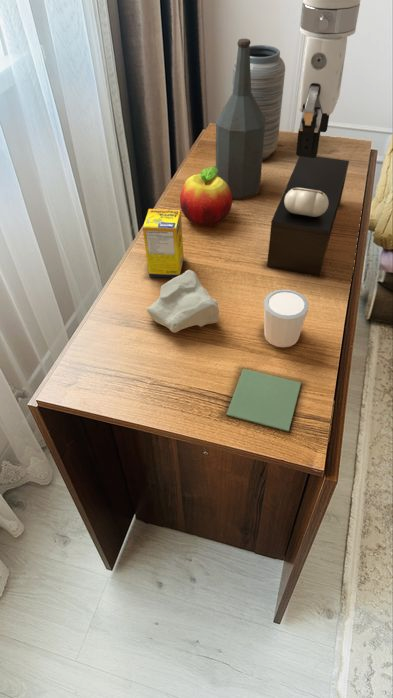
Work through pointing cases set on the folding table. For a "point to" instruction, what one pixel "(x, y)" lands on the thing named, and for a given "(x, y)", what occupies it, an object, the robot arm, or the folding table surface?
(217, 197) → the fruit
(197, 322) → the decorative stone
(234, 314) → the folding table surface
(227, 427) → the folding table surface
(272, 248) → the long dark rectangular box
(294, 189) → the cream rounded oblong block
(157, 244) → the supplement box
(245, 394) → the mat
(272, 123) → the vase
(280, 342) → the white cup
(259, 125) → the bottle
